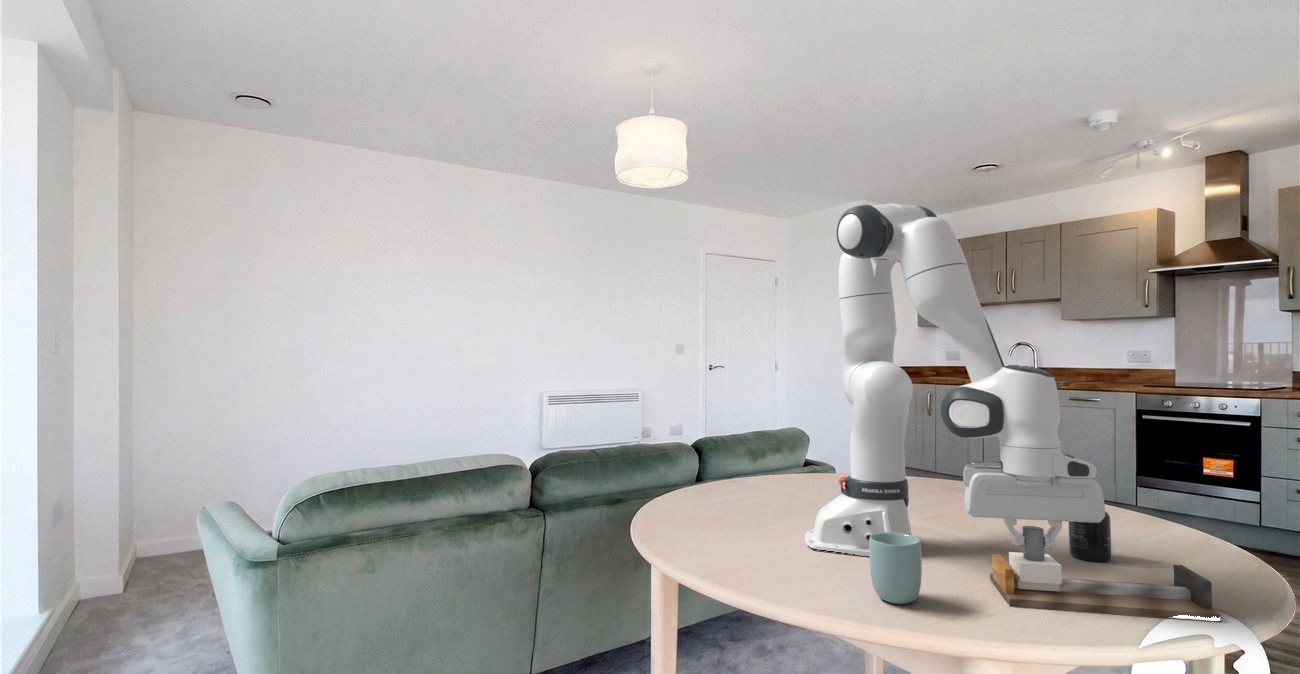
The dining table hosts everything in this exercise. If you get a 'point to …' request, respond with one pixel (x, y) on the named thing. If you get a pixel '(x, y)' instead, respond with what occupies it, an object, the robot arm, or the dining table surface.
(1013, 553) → the slider
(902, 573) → the cup
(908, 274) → the robot arm
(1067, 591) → the rail track
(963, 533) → the dining table surface
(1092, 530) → the supplement bottle
